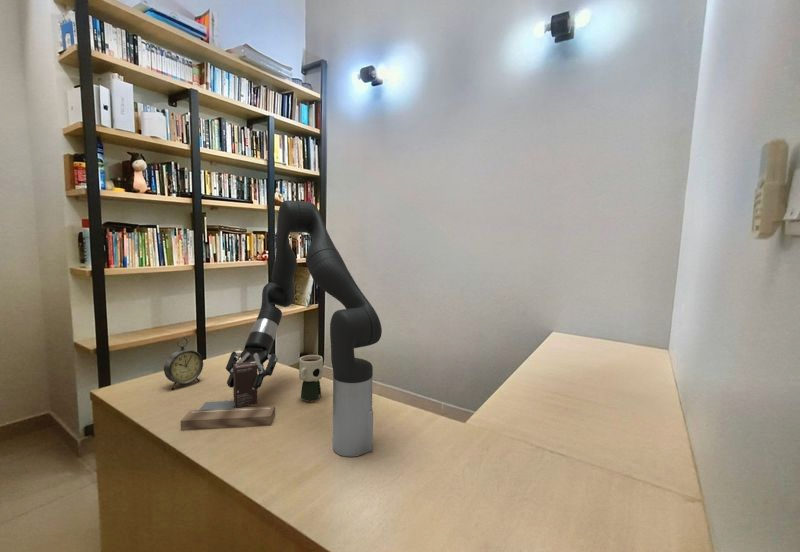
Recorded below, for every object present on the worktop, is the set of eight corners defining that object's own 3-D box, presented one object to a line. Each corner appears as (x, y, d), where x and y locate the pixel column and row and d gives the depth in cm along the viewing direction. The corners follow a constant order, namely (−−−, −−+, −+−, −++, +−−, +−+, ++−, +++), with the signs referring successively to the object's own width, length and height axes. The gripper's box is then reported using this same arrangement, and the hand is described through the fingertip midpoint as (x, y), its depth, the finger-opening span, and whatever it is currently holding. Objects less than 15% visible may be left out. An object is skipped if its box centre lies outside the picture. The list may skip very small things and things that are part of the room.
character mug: (312, 408, 105) (312, 365, 104) (290, 404, 107) (290, 362, 106) (329, 393, 115) (329, 354, 114) (310, 390, 117) (310, 352, 116)
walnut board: (275, 414, 100) (275, 405, 100) (271, 425, 95) (270, 415, 94) (190, 419, 97) (190, 409, 97) (180, 430, 91) (180, 420, 91)
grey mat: (237, 402, 108) (237, 400, 108) (228, 416, 99) (228, 414, 99) (205, 403, 106) (205, 402, 106) (193, 418, 98) (193, 416, 97)
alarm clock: (170, 392, 114) (169, 342, 113) (162, 388, 117) (160, 339, 116) (204, 381, 123) (203, 335, 122) (195, 378, 126) (194, 333, 125)
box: (236, 409, 100) (234, 368, 99) (233, 403, 104) (232, 363, 103) (258, 404, 103) (257, 364, 102) (255, 399, 107) (254, 359, 106)
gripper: (235, 329, 110) (212, 380, 99) (280, 331, 108) (261, 383, 98) (245, 341, 116) (224, 391, 105) (287, 343, 114) (271, 394, 104)
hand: (242, 387), depth 102 cm, fingers closed on box, 7 cm apart
